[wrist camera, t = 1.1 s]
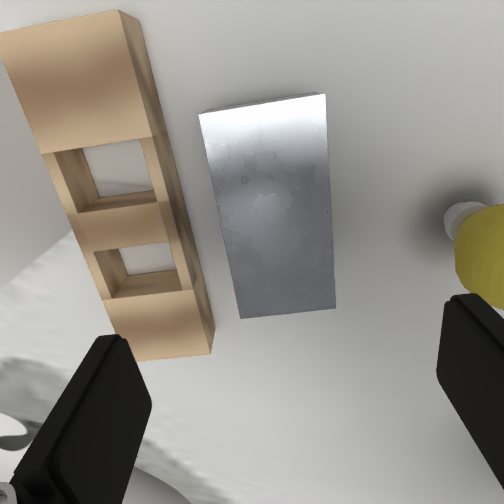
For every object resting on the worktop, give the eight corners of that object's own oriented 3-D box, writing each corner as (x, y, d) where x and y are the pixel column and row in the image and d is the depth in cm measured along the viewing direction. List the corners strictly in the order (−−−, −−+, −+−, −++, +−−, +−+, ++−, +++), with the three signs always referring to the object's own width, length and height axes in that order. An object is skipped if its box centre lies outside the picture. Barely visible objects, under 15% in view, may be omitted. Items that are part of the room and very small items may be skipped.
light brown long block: (215, 327, 32) (210, 354, 28) (140, 335, 32) (127, 362, 29) (139, 20, 21) (118, 9, 18) (30, 41, 22) (-9, 33, 19)
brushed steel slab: (320, 261, 28) (335, 308, 22) (244, 271, 29) (240, 318, 23) (308, 90, 23) (325, 93, 17) (213, 106, 23) (198, 114, 17)
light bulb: (477, 262, 28) (580, 346, 19) (400, 246, 28) (468, 325, 19) (522, 183, 25) (669, 240, 16) (437, 164, 25) (539, 211, 16)
